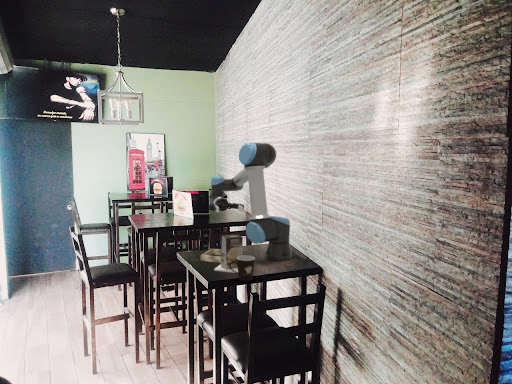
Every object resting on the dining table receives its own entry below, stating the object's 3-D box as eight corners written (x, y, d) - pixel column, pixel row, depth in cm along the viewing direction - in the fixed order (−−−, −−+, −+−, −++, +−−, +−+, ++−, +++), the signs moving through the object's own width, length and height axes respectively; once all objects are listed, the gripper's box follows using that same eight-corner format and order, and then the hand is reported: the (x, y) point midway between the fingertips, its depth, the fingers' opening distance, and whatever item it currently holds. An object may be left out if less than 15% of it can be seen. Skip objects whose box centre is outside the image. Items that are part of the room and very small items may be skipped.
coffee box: (225, 269, 190) (226, 238, 189) (220, 266, 196) (221, 235, 194) (242, 267, 195) (243, 236, 193) (237, 264, 200) (237, 233, 199)
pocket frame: (235, 256, 218) (235, 251, 218) (226, 263, 204) (226, 257, 204) (211, 253, 223) (211, 248, 222) (200, 260, 208) (200, 255, 208)
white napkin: (248, 266, 199) (248, 265, 199) (240, 273, 188) (240, 271, 188) (222, 263, 203) (222, 262, 203) (214, 270, 192) (214, 268, 192)
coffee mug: (254, 276, 184) (255, 255, 183) (254, 282, 176) (254, 260, 175) (230, 275, 185) (231, 255, 184) (229, 281, 176) (229, 260, 175)
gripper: (241, 209, 232) (252, 215, 212) (200, 210, 224) (207, 217, 204) (241, 197, 231) (252, 202, 212) (200, 198, 223) (207, 203, 203)
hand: (230, 209), depth 208 cm, fingers open, 13 cm apart
